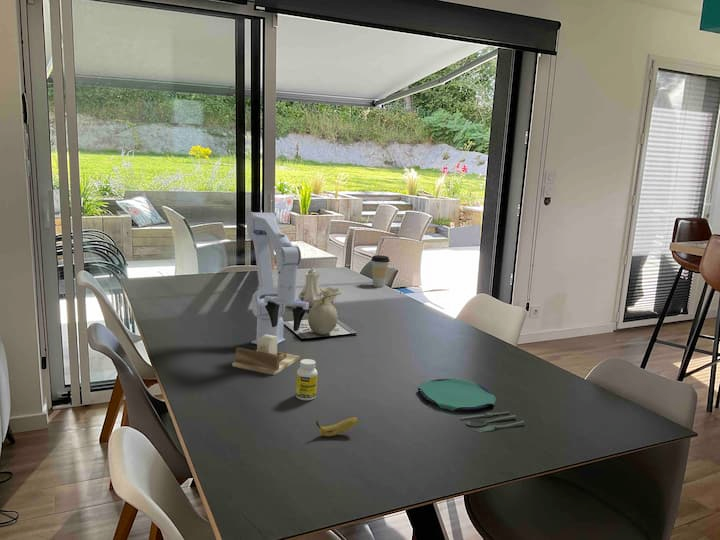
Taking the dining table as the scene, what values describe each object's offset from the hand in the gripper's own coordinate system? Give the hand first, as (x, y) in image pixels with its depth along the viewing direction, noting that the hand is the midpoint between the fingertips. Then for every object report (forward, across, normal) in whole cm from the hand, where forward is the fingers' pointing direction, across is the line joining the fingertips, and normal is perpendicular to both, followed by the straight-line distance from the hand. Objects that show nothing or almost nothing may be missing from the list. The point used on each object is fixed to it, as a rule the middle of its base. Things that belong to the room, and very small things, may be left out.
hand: (285, 328), depth 182 cm
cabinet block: (+8, -2, -7) cm, 11 cm away
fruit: (+10, -1, +29) cm, 31 cm away
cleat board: (+9, -2, -7) cm, 12 cm away
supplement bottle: (+10, +20, -24) cm, 33 cm away
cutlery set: (+10, +59, -7) cm, 60 cm away
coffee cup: (+10, -13, +120) cm, 121 cm away
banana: (+10, +36, -40) cm, 55 cm away
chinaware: (+10, -21, +66) cm, 70 cm away
